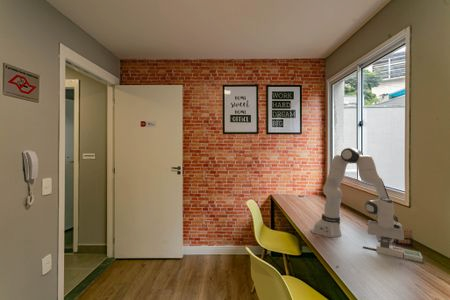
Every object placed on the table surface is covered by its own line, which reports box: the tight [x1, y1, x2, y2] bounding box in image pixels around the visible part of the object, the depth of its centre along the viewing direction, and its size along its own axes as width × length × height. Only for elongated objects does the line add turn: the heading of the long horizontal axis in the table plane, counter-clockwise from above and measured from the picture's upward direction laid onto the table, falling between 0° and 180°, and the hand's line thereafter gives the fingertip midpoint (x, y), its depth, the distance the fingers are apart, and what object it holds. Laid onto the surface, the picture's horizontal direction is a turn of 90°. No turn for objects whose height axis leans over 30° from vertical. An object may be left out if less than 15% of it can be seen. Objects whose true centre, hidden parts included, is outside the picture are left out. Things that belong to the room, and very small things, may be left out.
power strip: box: [362, 242, 404, 259], centre depth 155 cm, size 22×6×5 cm, turn 58°
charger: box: [379, 236, 391, 248], centre depth 154 cm, size 5×5×9 cm
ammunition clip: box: [394, 227, 414, 247], centre depth 167 cm, size 11×2×12 cm, turn 75°
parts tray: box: [402, 248, 424, 263], centre depth 148 cm, size 9×9×3 cm
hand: (384, 243), depth 155 cm, fingers closed on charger, 5 cm apart
